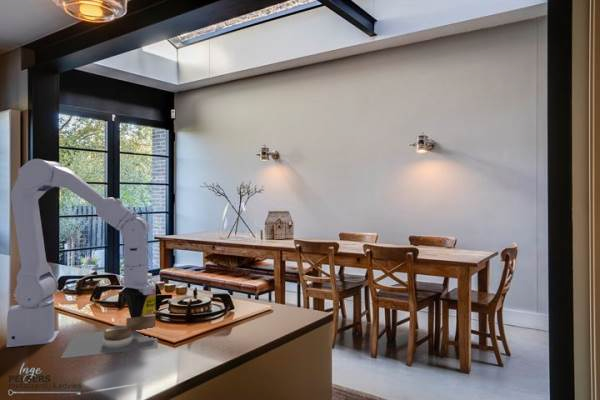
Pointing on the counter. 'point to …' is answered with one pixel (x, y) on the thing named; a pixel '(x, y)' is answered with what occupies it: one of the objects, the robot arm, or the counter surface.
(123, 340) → the jar
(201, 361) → the counter surface
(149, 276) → the supplement bottle
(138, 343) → the mat
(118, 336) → the cap
